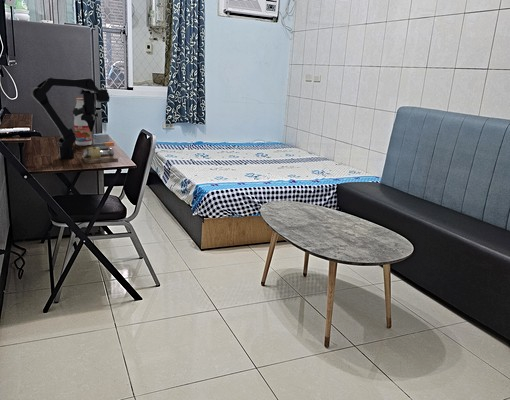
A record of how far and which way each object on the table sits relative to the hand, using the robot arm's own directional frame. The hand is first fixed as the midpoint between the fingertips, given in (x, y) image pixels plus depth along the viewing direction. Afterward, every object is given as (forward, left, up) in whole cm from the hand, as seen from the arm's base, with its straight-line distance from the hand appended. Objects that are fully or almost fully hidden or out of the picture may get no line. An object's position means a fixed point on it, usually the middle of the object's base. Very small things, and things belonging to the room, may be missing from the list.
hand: (91, 131), depth 239 cm
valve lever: (+3, -11, -6) cm, 13 cm away
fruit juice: (+1, +35, -13) cm, 37 cm away
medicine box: (+8, +18, -13) cm, 24 cm away
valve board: (+1, -13, -13) cm, 18 cm away
